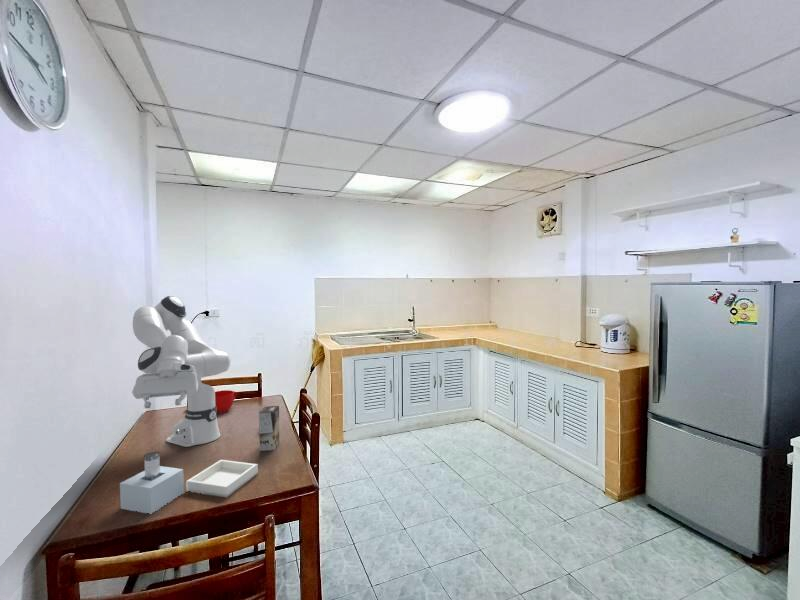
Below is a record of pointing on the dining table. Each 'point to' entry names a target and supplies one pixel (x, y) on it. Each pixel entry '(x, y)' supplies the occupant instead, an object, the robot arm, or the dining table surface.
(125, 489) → the socket block
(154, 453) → the steel pin
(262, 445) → the coffee box
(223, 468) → the tray
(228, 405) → the ceramic cup
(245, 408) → the dining table surface
